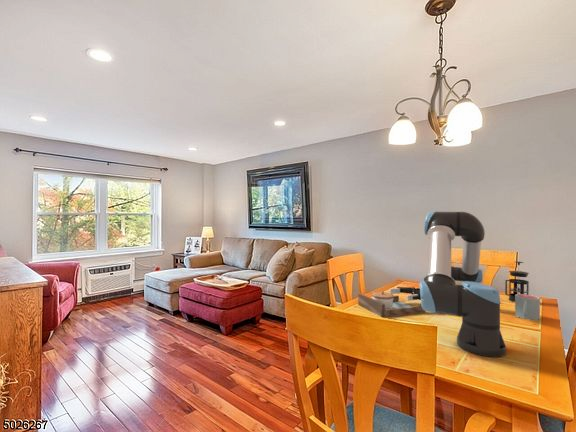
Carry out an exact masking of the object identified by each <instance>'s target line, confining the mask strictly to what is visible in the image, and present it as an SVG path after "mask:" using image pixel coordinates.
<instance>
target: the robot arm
mask: <svg viewBox="0 0 576 432" xmlns="http://www.w3.org/2000/svg"><path fill="white" fill-rule="evenodd" d="M423 228H424V229H423V230H424V231H423V232H424V234H425V236H427V237H428V239H429V240H430V241H429V242H430V243H429V254H428V255H429V256H428V257H429V258H428V271H427V272H428V273H427V275H425V276H424V278H423V280H420V281H419V287H417V288H416V287H414V286H412V287H408V286H406V287H405V286H397V287H396V288H389V289H388V290H389V292H388V293H390V294H393V295H395V294H398V295H399V294H406V301H407V302H409V301H420V304H421V305H420V306H422V309H423V310H425V312H428V313H429V312H430V313H433V314H442V315H449V316H455V317H461V318H462V321H461V323H462V324H461V326H460V328H459V330H458V333H457V336H456V345H457V346H458V347H460V348H461V349H463V350H465V351H467V352H469V353H472V354H475V355H479V356H483V357H491V358H492V357H493V358H494V357H495V358H496V357H497V358H498V357H504V356H506V354H507V347H506V343H505V341H504V337H503V335H502V331H501V304H502V303H501V296H500V295H501V293H500V290H498V289H497V288H495V287H494V286H491V285H487V284H485V283H482V282H483V269H481V268H479V267H480V258H481V249H482V248H481V247H482V242H483V241H484V239H485V234H486V233H485V232H486V231H485V227H484V226H483V224H482V222H481V221H480V220H479V218H477V217H476V216H475V215H474V214H472V213H469V212H467V211H429V212H428V213H427V214H426V217H425V218H424V226H423ZM455 237H460V238H461V239H462V259H461V260H462V261H461V267H459V266H452V241H454V239H455ZM456 282H462V283H461V284H457V283H456Z"/></svg>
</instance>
